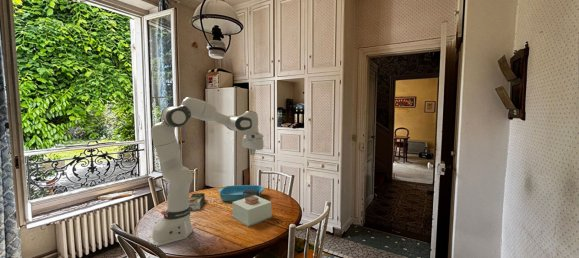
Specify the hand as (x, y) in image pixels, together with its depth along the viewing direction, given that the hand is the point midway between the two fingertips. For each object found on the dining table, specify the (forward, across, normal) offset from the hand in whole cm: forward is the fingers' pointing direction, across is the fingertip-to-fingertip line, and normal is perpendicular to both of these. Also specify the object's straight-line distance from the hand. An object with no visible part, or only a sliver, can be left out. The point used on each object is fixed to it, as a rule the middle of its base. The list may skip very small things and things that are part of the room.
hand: (252, 155), depth 159 cm
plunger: (+38, +7, -6) cm, 39 cm away
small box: (+39, -11, +6) cm, 41 cm away
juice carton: (+40, -40, -24) cm, 61 cm away
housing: (+39, +7, -6) cm, 40 cm away
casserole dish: (+40, -29, +9) cm, 50 cm away
